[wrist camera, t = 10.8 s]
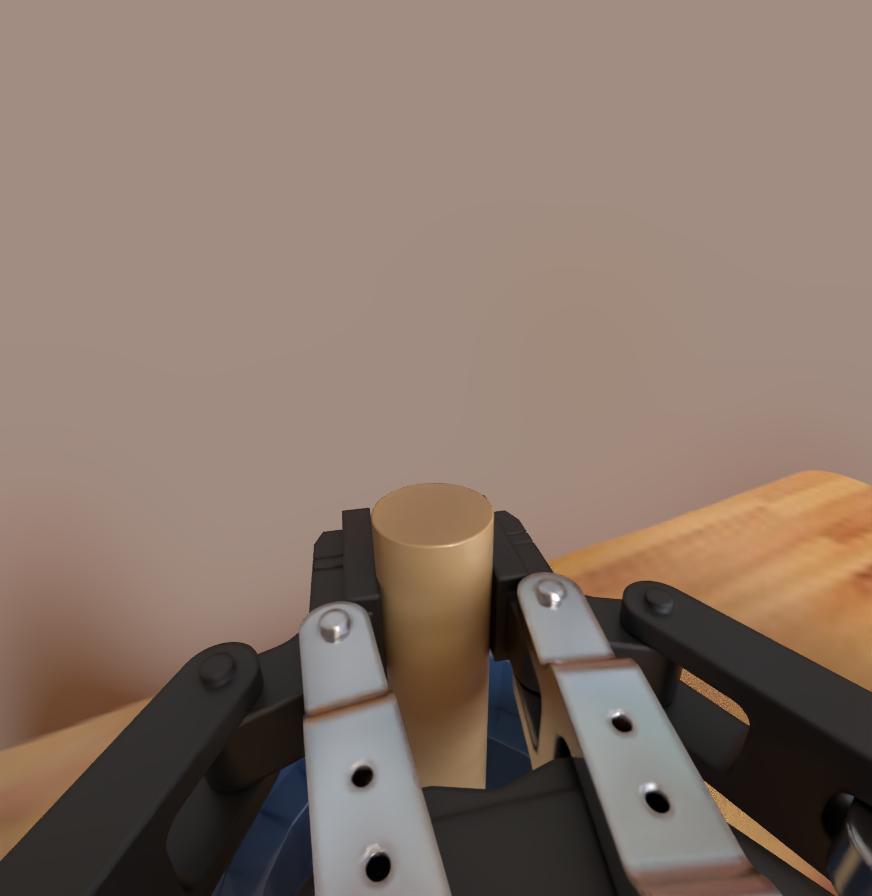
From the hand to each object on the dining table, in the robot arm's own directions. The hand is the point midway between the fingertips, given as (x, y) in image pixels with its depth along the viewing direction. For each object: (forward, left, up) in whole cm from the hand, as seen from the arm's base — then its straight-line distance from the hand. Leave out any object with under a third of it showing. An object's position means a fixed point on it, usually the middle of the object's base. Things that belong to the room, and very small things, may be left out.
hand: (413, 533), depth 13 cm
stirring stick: (+1, -3, -14) cm, 14 cm away
